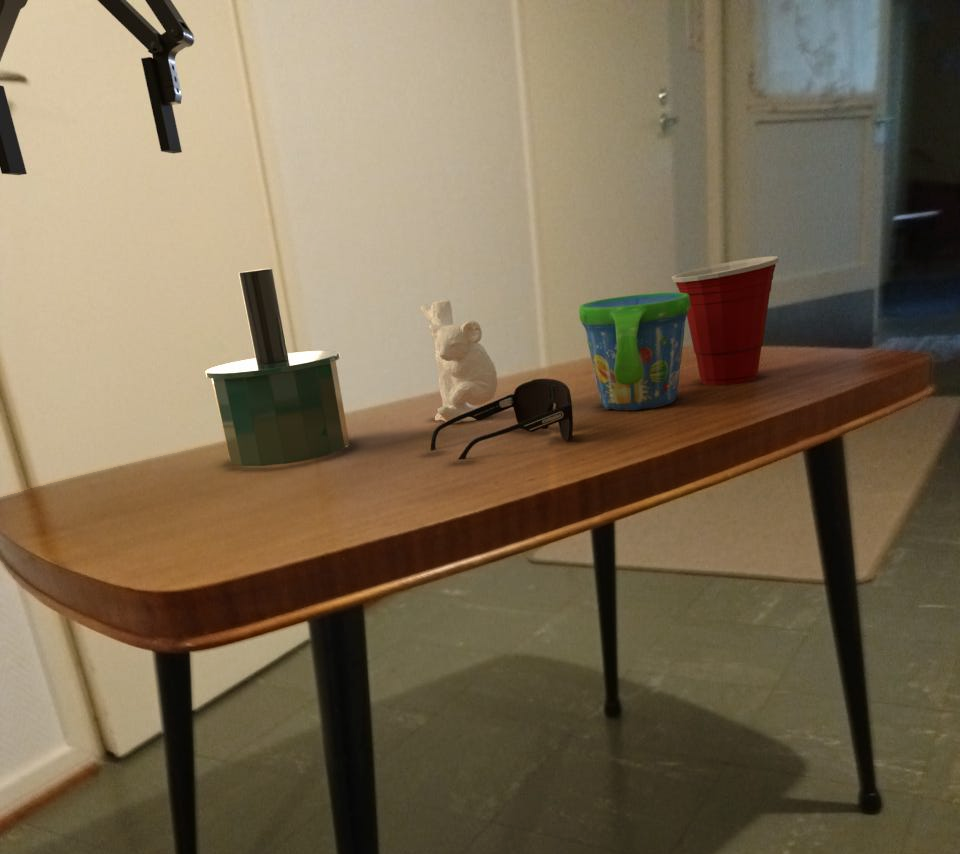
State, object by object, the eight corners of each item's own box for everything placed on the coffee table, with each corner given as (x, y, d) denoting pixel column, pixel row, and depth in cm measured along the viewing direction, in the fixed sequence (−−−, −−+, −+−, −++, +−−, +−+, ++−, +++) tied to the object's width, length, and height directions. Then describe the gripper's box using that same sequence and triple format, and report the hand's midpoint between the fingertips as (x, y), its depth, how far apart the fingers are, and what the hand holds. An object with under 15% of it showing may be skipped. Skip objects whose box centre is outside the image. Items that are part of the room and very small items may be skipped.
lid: (188, 391, 87) (164, 282, 83) (231, 371, 98) (211, 275, 95) (324, 375, 86) (305, 264, 82) (352, 357, 97) (336, 259, 93)
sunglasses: (595, 439, 85) (584, 382, 83) (475, 486, 81) (461, 427, 79) (534, 426, 94) (523, 374, 92) (424, 467, 90) (410, 414, 88)
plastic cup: (665, 381, 111) (660, 268, 106) (760, 368, 111) (759, 255, 106) (689, 395, 100) (685, 271, 96) (794, 381, 101) (794, 257, 96)
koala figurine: (415, 423, 104) (398, 305, 99) (467, 411, 107) (453, 295, 103) (458, 430, 97) (442, 303, 93) (513, 417, 101) (500, 294, 96)
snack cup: (678, 419, 90) (674, 302, 86) (567, 424, 94) (558, 313, 90) (704, 388, 103) (701, 286, 99) (606, 394, 107) (599, 296, 103)
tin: (215, 476, 90) (194, 382, 87) (250, 450, 101) (233, 365, 98) (335, 464, 89) (319, 368, 86) (359, 439, 99) (345, 352, 96)
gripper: (195, -165, 74) (252, 145, 82) (-109, -112, 77) (-25, 184, 85) (158, -205, 67) (224, 138, 76) (-175, -144, 70) (-76, 181, 78)
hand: (92, 163), depth 80 cm, fingers open, 13 cm apart
